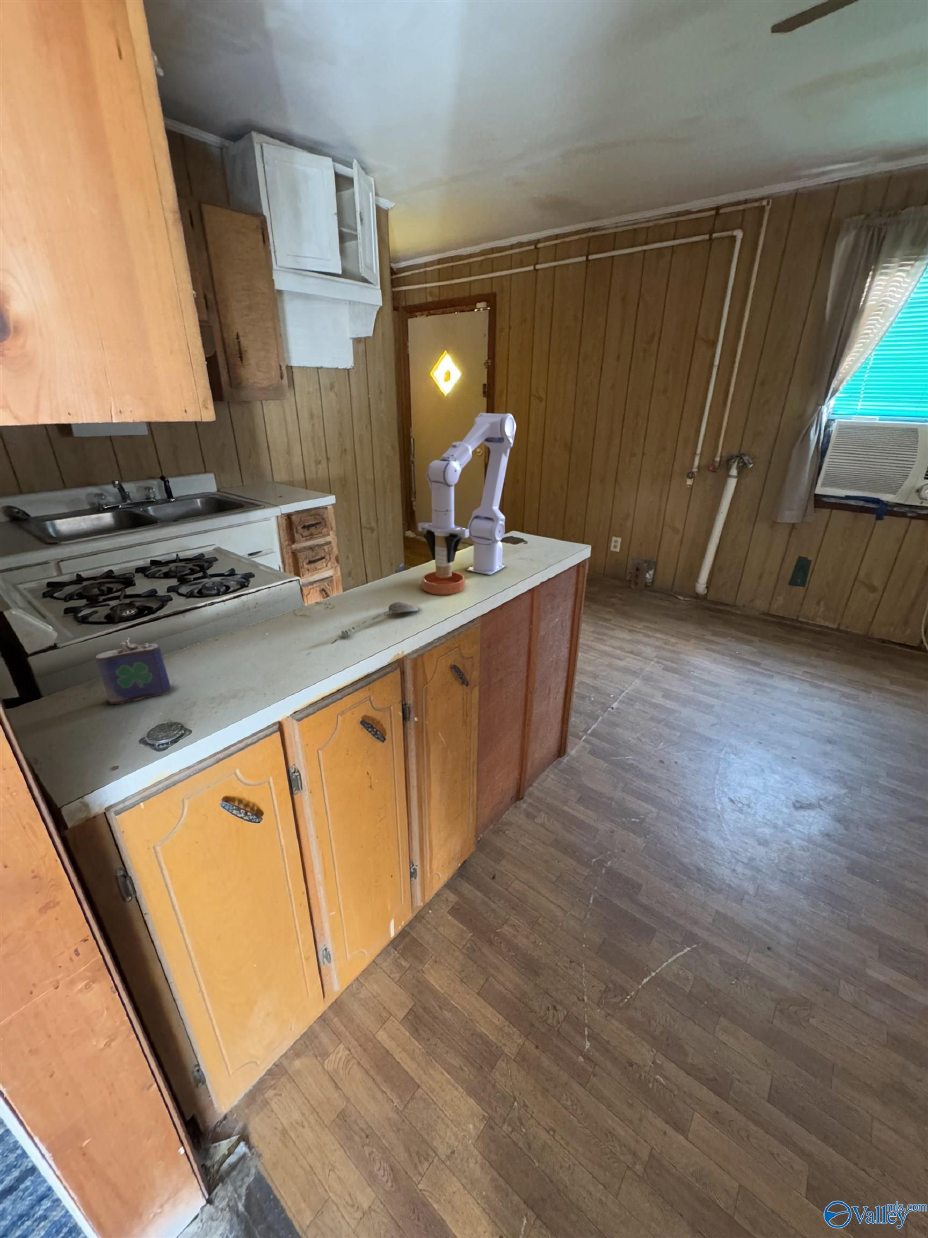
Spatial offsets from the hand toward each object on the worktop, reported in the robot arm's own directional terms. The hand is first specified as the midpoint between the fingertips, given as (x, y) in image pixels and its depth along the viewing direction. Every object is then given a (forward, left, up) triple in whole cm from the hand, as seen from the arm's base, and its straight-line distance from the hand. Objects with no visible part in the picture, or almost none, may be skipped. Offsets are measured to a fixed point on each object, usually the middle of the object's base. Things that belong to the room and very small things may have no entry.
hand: (443, 560), depth 134 cm
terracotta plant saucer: (0, 0, -8) cm, 8 cm away
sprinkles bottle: (0, 0, -5) cm, 5 cm away
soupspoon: (+27, 0, -8) cm, 28 cm away
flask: (+73, -15, -8) cm, 75 cm away
